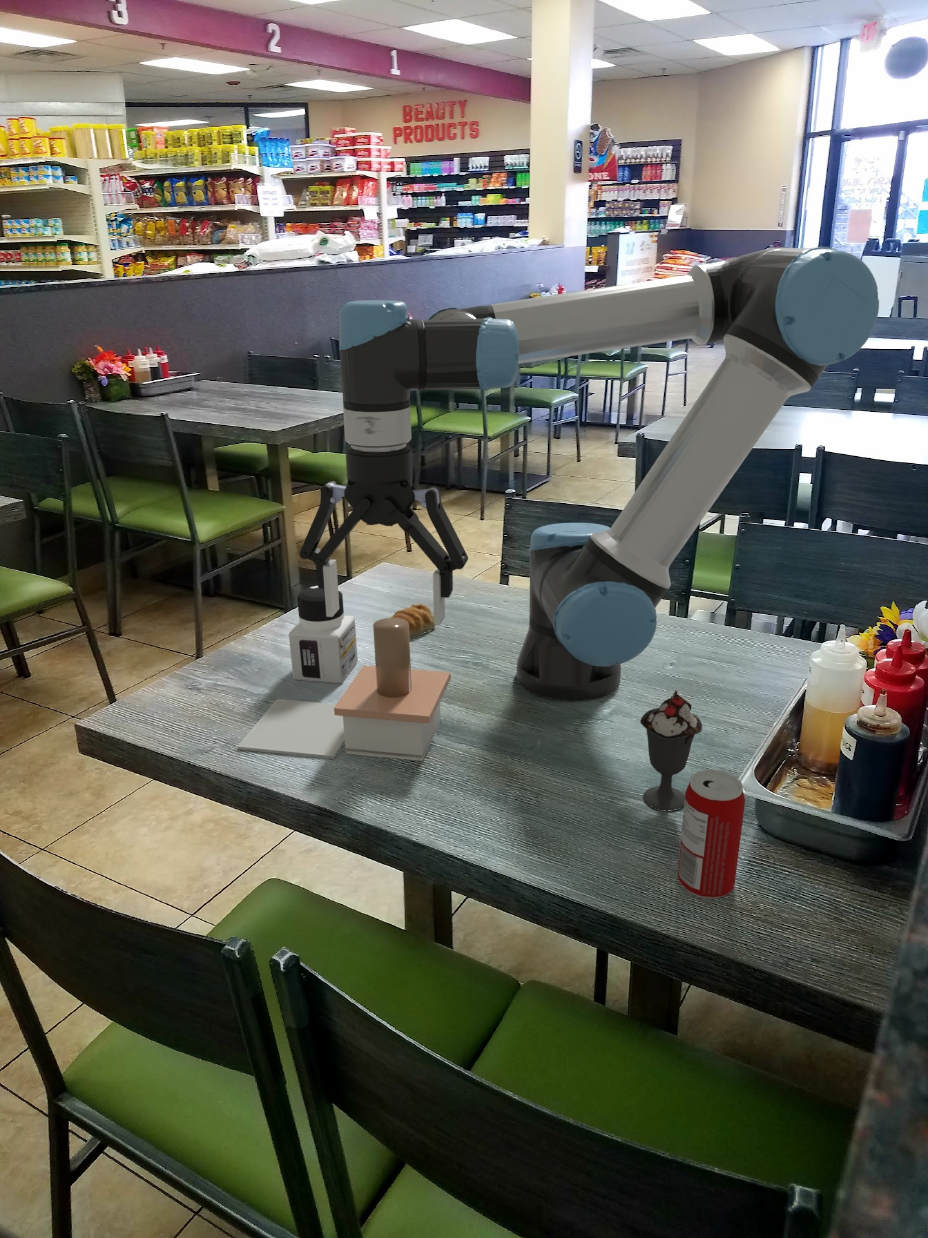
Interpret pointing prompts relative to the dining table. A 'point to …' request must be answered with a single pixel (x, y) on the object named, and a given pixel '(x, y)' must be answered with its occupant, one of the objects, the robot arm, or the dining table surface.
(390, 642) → the lid
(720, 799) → the soda can
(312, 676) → the container
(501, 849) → the dining table surface
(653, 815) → the dining table surface
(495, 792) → the dining table surface
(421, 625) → the pastry
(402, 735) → the white open box
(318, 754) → the mat
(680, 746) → the sundae
